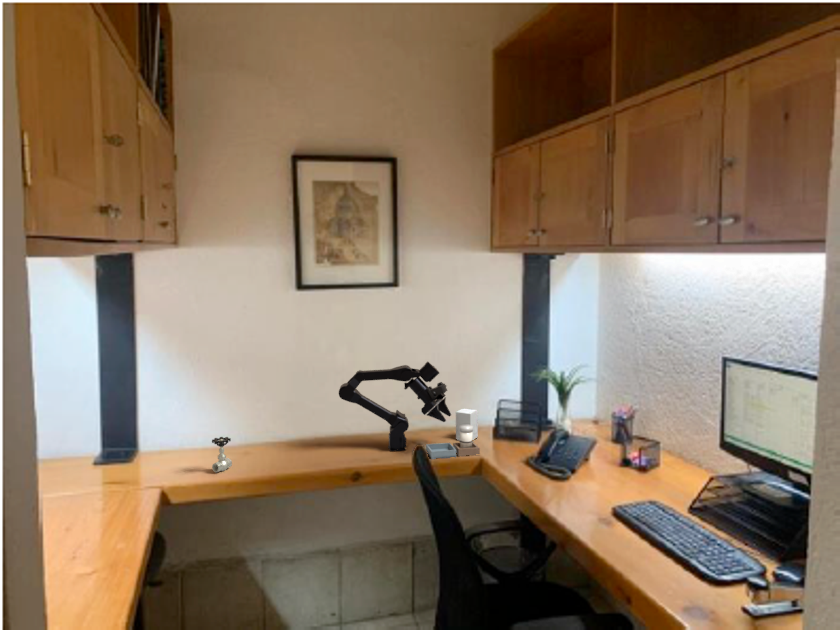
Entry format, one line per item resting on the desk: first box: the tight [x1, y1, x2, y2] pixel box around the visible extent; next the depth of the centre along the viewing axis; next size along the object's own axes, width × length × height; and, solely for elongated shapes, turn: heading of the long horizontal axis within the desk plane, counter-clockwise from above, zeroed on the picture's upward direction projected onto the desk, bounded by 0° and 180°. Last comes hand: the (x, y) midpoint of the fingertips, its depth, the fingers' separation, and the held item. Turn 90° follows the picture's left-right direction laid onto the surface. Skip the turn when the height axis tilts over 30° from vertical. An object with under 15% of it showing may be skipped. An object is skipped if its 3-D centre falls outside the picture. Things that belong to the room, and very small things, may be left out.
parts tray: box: [425, 442, 457, 460], centre depth 255 cm, size 10×10×3 cm
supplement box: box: [455, 408, 479, 441], centre depth 276 cm, size 7×7×13 cm
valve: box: [211, 436, 233, 474], centre depth 237 cm, size 7×7×12 cm
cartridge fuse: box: [459, 424, 473, 449], centre depth 257 cm, size 5×5×11 cm
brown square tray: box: [452, 441, 481, 457], centre depth 258 cm, size 9×9×3 cm
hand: (447, 418), depth 259 cm, fingers open, 9 cm apart
